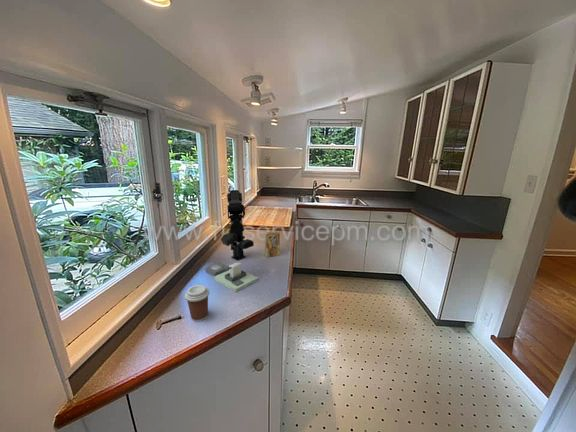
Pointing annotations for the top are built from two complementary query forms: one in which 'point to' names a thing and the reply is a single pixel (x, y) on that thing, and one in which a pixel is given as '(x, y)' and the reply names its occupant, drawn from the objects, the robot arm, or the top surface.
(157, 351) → the top surface
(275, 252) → the candy box
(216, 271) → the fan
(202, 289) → the coffee cup
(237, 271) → the plug
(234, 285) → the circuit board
